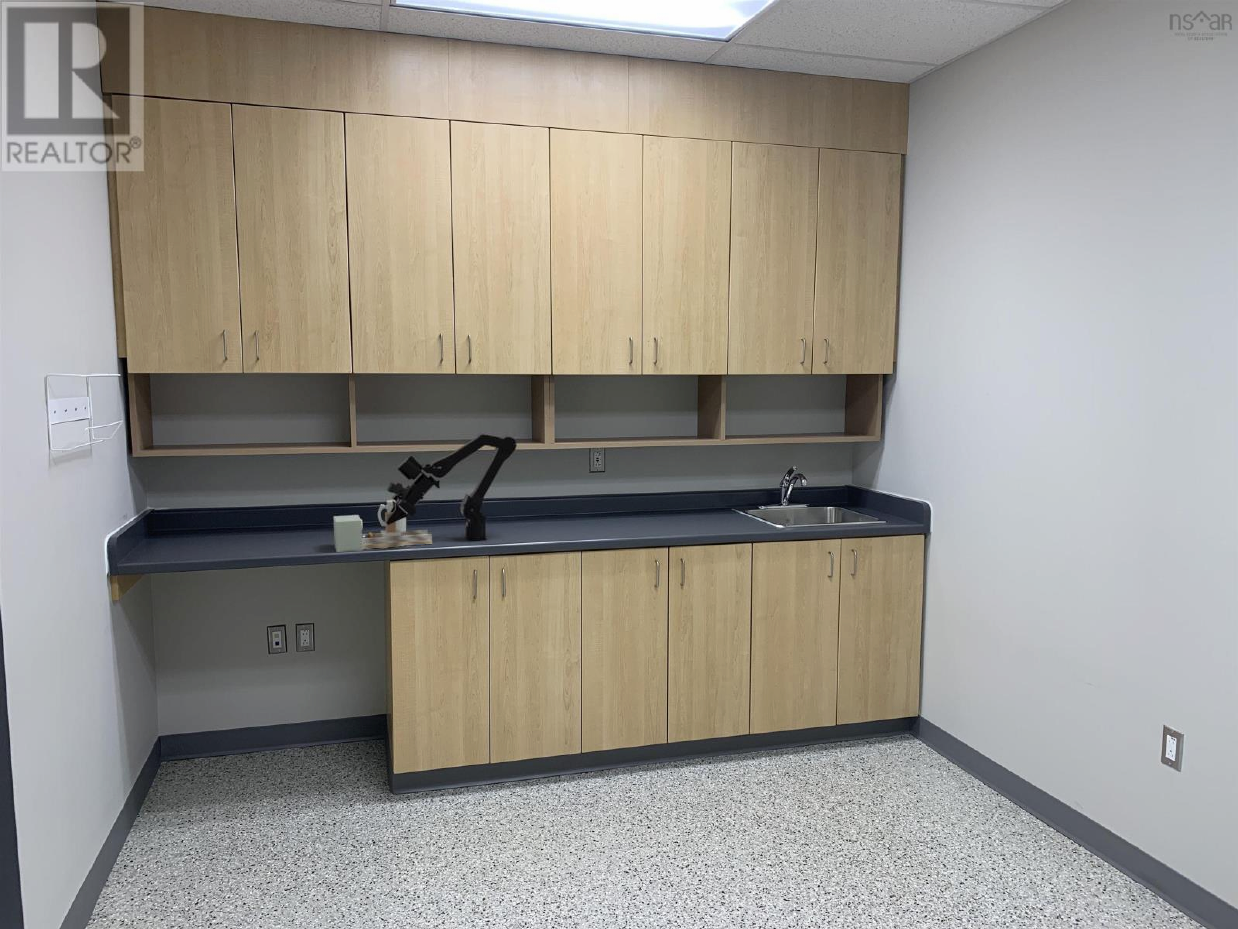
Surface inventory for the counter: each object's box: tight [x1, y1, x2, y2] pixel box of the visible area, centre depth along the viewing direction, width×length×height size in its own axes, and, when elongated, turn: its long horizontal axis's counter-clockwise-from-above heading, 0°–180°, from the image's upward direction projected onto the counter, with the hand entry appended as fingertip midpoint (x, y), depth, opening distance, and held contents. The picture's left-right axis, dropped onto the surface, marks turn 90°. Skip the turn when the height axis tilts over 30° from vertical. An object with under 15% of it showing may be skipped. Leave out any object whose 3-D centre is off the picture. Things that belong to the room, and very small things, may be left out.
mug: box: [377, 499, 407, 532], centre depth 304 cm, size 10×7×12 cm, turn 102°
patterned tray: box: [361, 529, 433, 551], centre depth 285 cm, size 23×10×4 cm, turn 112°
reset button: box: [362, 532, 373, 538], centre depth 281 cm, size 6×5×3 cm
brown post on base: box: [380, 511, 401, 537], centre depth 284 cm, size 6×6×9 cm
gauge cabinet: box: [333, 514, 363, 553], centre depth 279 cm, size 8×12×10 cm
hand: (386, 523), depth 283 cm, fingers closed on brown post on base, 3 cm apart
